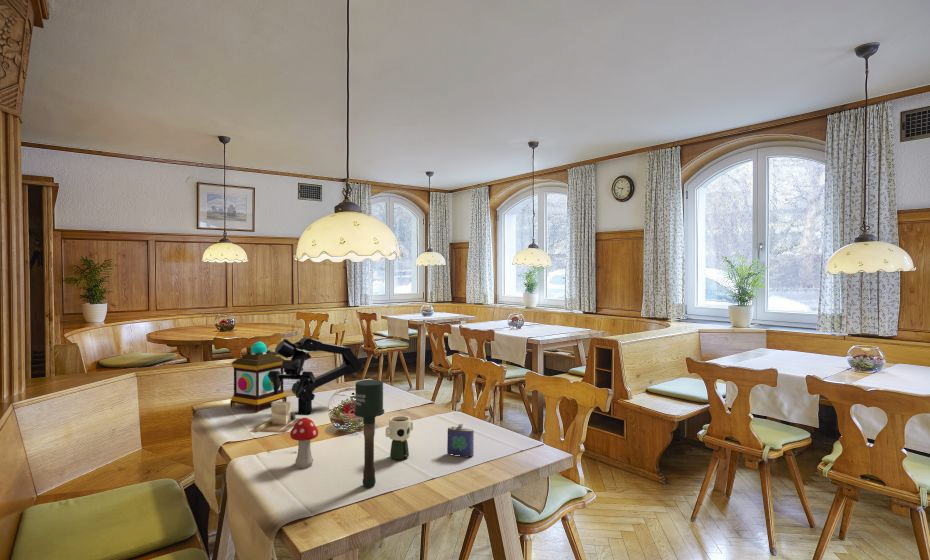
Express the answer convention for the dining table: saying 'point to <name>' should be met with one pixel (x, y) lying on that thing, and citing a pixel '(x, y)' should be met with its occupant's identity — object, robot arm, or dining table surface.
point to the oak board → (276, 426)
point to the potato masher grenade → (369, 421)
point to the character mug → (399, 435)
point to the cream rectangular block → (280, 413)
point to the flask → (460, 441)
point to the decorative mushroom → (304, 441)
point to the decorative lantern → (256, 378)
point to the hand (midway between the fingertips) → (285, 394)
